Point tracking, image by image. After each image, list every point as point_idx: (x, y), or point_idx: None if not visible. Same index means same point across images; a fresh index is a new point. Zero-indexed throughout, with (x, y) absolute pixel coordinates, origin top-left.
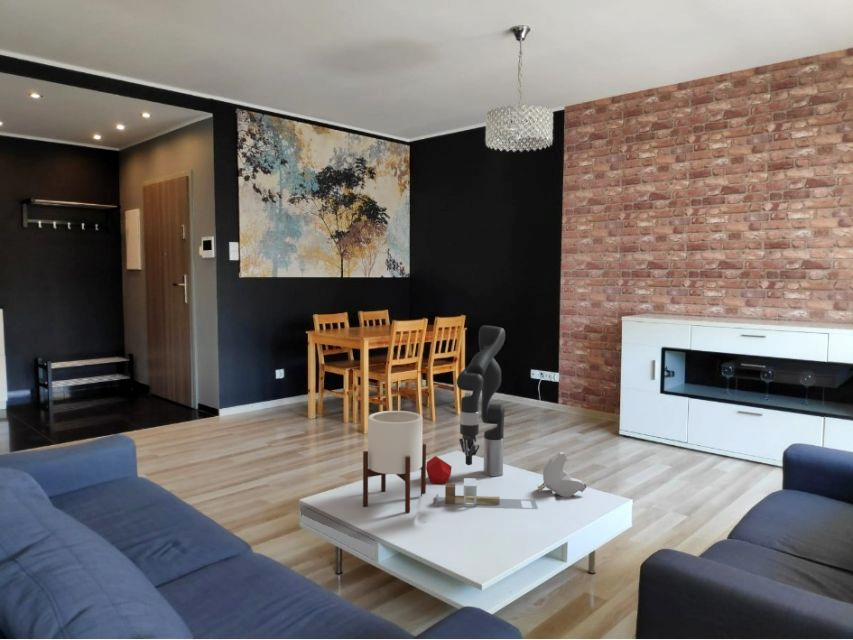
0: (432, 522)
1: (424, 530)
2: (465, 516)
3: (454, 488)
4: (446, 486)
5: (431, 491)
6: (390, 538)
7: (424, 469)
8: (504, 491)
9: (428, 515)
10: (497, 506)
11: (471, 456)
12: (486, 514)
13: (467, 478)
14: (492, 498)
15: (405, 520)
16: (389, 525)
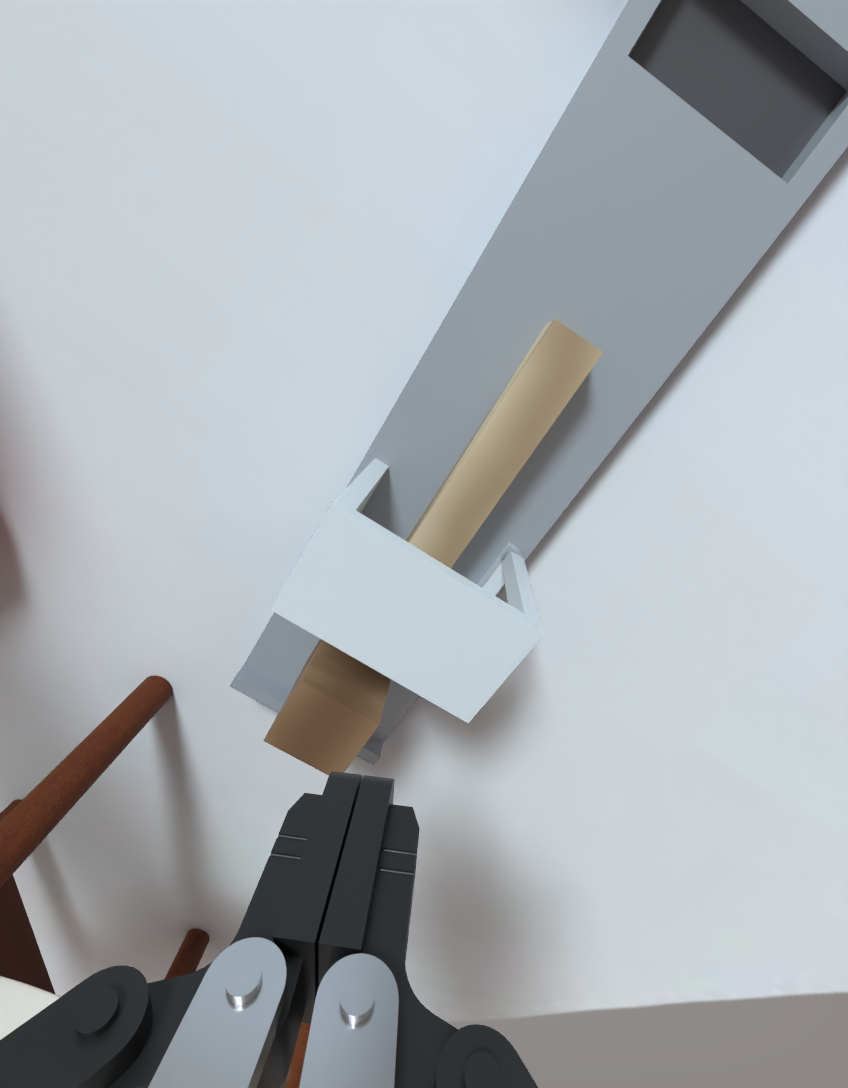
0: (527, 824)
1: (588, 890)
2: (561, 651)
3: (378, 720)
4: (335, 770)
5: (86, 605)
6: (572, 1004)
7: (20, 858)
8: (256, 8)
9: (434, 796)
10: (612, 398)
11: (406, 985)
12: (618, 519)
13: (292, 582)
14: (558, 413)
15: (435, 895)
16: (451, 958)
